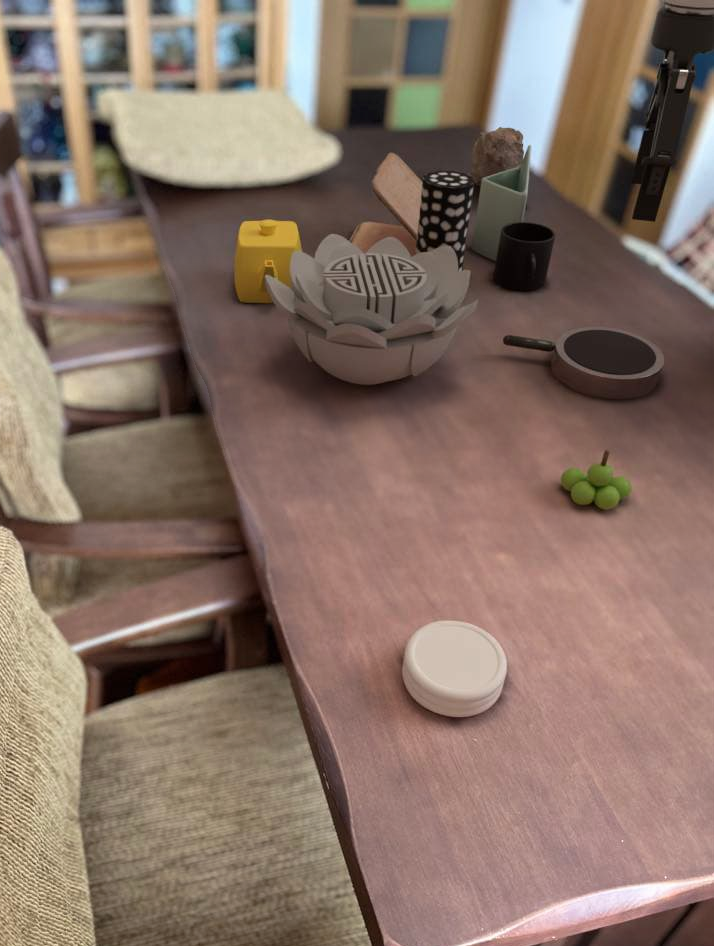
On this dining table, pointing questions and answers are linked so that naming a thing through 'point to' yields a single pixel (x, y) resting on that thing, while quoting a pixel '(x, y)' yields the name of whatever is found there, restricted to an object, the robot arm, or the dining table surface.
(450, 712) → the round cream tin
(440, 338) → the decorative bowl
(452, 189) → the spotted tube
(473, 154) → the stone
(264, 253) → the teapot
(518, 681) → the dining table surface
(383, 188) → the case
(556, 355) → the pan
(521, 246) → the mug
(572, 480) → the grapes
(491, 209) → the green magazine holder
